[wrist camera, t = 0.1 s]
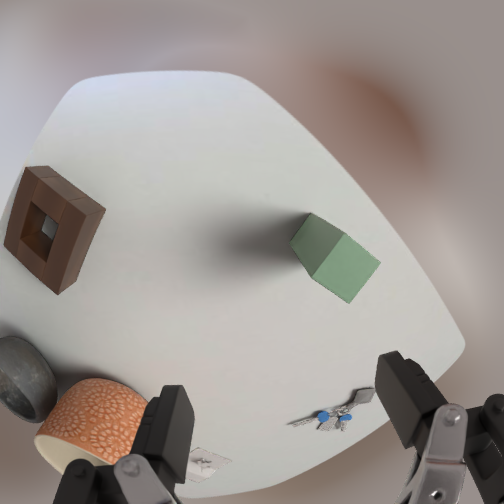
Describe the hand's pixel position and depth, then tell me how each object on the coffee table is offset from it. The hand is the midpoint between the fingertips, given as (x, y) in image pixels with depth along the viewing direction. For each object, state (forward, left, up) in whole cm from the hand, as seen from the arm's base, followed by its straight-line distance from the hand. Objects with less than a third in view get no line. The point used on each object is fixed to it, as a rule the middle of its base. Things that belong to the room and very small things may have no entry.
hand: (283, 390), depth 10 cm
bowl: (+31, -29, -20) cm, 47 cm away
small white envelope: (+44, +4, -20) cm, 48 cm away
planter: (+31, -12, -20) cm, 39 cm away
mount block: (+5, -24, -20) cm, 31 cm away
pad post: (-3, +5, -20) cm, 21 cm away
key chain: (+21, +22, -20) cm, 36 cm away
